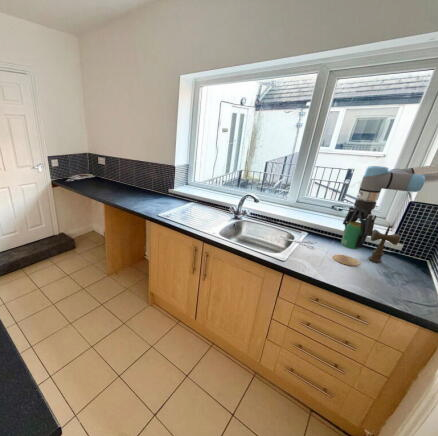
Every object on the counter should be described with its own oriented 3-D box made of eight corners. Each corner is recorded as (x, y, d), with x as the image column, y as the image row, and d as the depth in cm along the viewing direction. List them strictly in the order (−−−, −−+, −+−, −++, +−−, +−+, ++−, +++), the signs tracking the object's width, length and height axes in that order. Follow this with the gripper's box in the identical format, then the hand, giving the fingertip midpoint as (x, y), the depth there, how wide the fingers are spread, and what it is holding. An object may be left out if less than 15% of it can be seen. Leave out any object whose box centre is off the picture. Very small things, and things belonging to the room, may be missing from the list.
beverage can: (346, 240, 127) (354, 220, 123) (363, 247, 121) (372, 226, 116) (336, 243, 125) (344, 222, 120) (354, 251, 118) (362, 228, 113)
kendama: (361, 255, 130) (375, 221, 122) (385, 260, 125) (401, 225, 118) (363, 260, 125) (378, 225, 118) (388, 266, 121) (405, 230, 113)
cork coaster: (349, 255, 130) (349, 254, 130) (365, 266, 120) (365, 265, 120) (327, 254, 131) (328, 254, 131) (341, 265, 120) (342, 264, 120)
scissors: (317, 249, 134) (277, 240, 144) (317, 250, 135) (277, 241, 144) (317, 241, 143) (279, 233, 152) (316, 243, 143) (279, 234, 153)
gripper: (342, 193, 124) (330, 234, 132) (376, 206, 104) (359, 252, 112) (357, 194, 124) (344, 234, 132) (394, 206, 104) (376, 253, 112)
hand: (351, 243), depth 122 cm, fingers closed on beverage can, 8 cm apart
